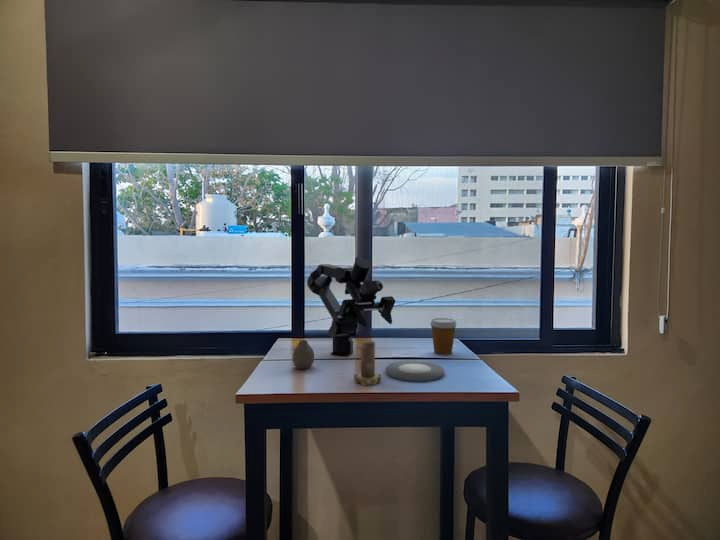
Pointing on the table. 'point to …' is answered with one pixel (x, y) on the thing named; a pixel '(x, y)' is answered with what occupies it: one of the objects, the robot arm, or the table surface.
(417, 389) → the table surface
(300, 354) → the vase
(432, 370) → the disc
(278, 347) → the table surface
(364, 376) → the gear
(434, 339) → the disposable coffee cup
